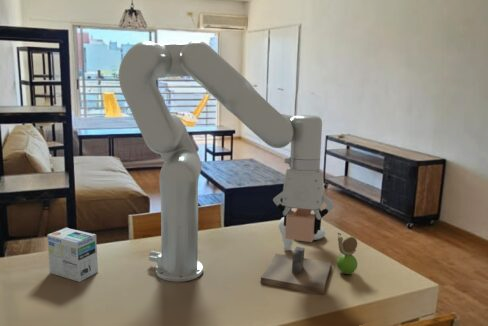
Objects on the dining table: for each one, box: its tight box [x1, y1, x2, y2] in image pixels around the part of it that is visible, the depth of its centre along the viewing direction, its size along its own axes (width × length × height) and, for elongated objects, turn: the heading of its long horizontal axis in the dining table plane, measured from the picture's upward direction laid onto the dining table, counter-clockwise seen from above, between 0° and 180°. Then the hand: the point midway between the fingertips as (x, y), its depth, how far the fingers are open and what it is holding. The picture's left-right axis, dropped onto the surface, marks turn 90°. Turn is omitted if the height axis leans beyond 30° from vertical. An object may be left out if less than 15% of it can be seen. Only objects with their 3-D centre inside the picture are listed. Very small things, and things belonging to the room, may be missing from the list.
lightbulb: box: [278, 216, 294, 251], centre depth 132 cm, size 6×6×11 cm
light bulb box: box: [47, 227, 99, 283], centre depth 113 cm, size 11×7×11 cm, turn 65°
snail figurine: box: [336, 232, 358, 275], centre depth 118 cm, size 5×6×12 cm
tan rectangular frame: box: [285, 208, 316, 243], centre depth 114 cm, size 7×9×6 cm
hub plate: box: [260, 246, 332, 295], centre depth 117 cm, size 16×16×7 cm
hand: (301, 229), depth 115 cm, fingers closed on tan rectangular frame, 6 cm apart
